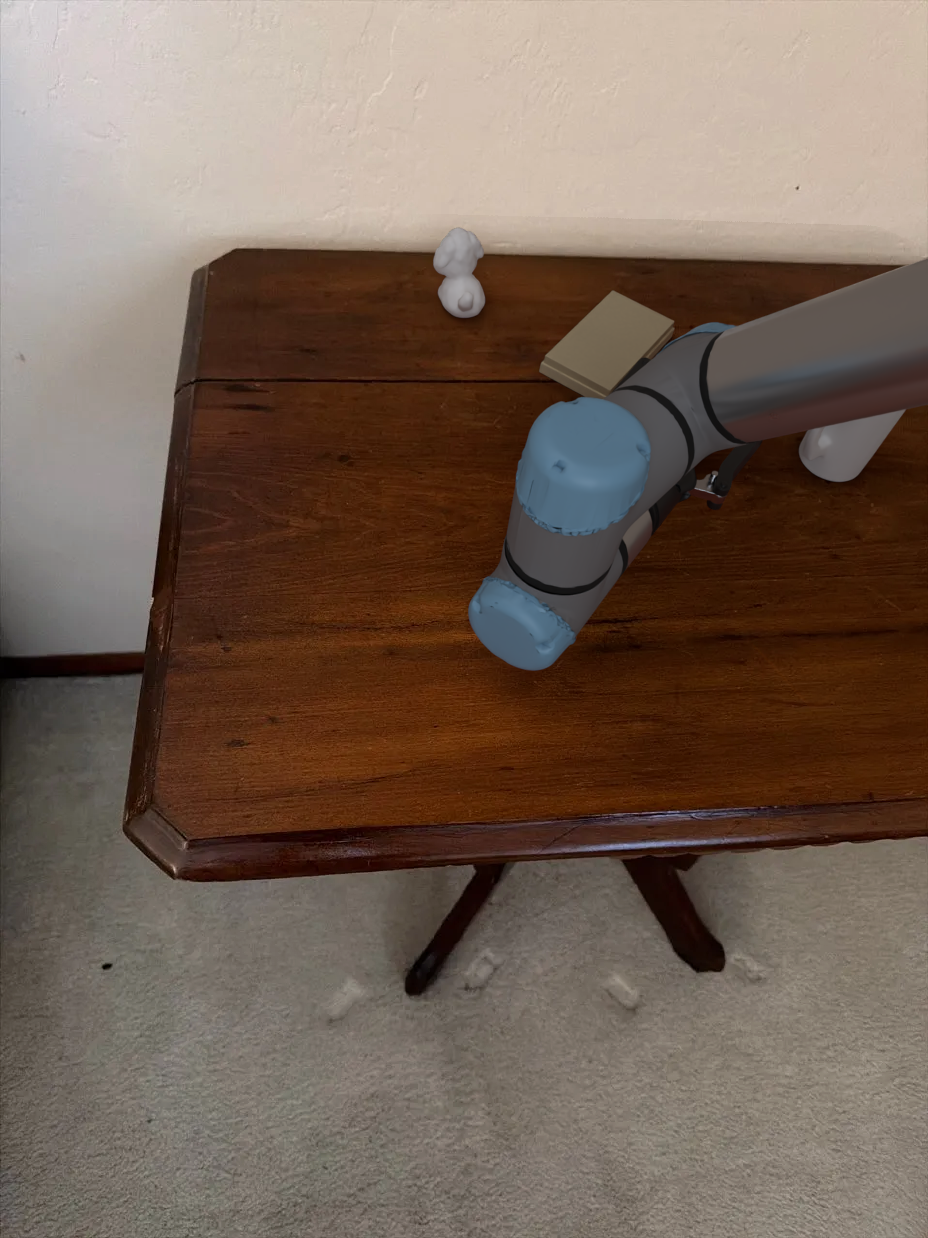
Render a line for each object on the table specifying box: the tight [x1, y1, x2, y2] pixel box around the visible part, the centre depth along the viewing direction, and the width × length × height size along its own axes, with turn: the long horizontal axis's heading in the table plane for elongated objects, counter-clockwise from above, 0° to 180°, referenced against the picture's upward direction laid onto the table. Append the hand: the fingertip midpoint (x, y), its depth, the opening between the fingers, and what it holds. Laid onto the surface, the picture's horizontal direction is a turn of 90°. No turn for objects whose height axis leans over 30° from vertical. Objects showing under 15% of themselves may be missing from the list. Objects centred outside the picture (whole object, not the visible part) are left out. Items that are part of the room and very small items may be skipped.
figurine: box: [432, 226, 486, 319], centre depth 90 cm, size 5×8×8 cm
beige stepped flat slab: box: [538, 290, 675, 399], centre depth 91 cm, size 8×14×2 cm, turn 145°
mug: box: [798, 409, 907, 483], centre depth 80 cm, size 10×7×12 cm, turn 124°
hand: (737, 355), depth 80 cm, fingers closed on pill bottle, 5 cm apart
